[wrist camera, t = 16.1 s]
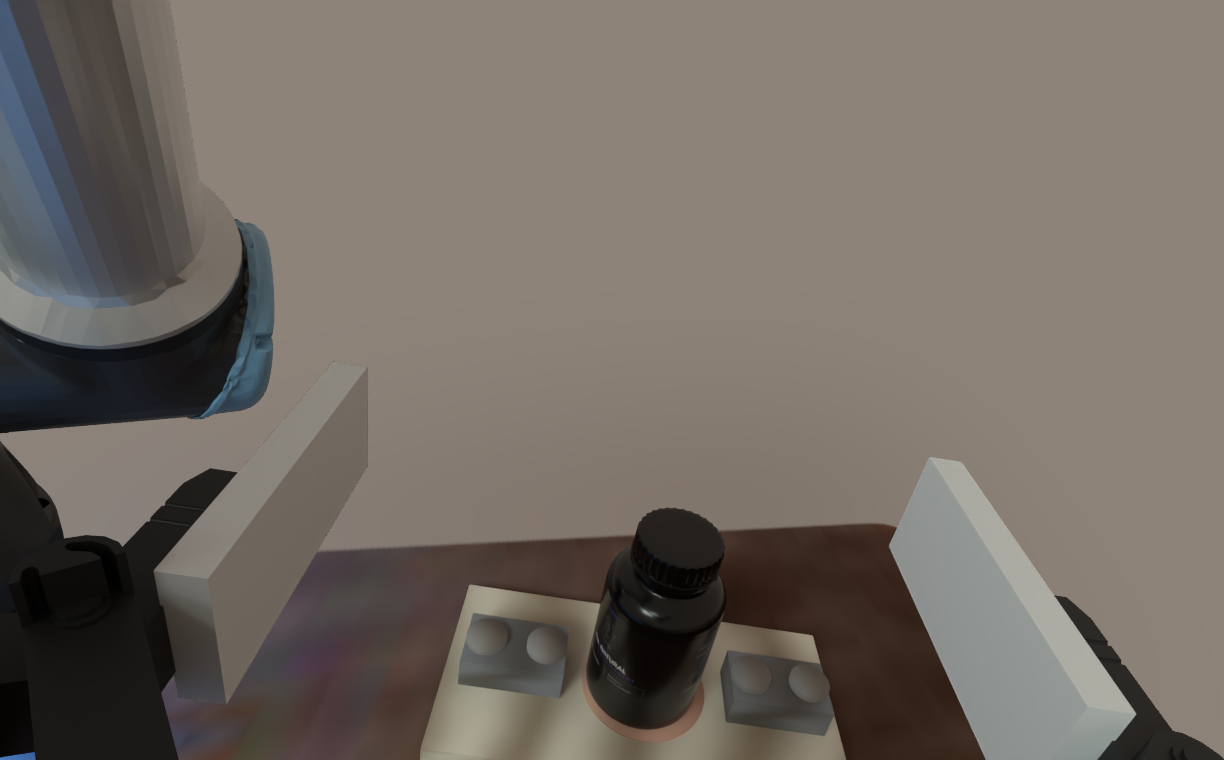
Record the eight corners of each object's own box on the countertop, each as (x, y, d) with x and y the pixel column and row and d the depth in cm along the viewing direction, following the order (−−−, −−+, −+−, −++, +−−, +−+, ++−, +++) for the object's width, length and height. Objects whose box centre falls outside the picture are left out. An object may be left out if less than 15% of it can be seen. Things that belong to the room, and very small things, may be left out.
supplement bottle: (565, 704, 41) (596, 549, 35) (608, 624, 47) (640, 479, 41) (677, 755, 39) (728, 601, 34) (706, 665, 45) (754, 520, 39)
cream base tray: (420, 760, 38) (422, 719, 36) (468, 595, 48) (472, 558, 47) (853, 819, 39) (874, 782, 37) (808, 645, 49) (823, 610, 48)
